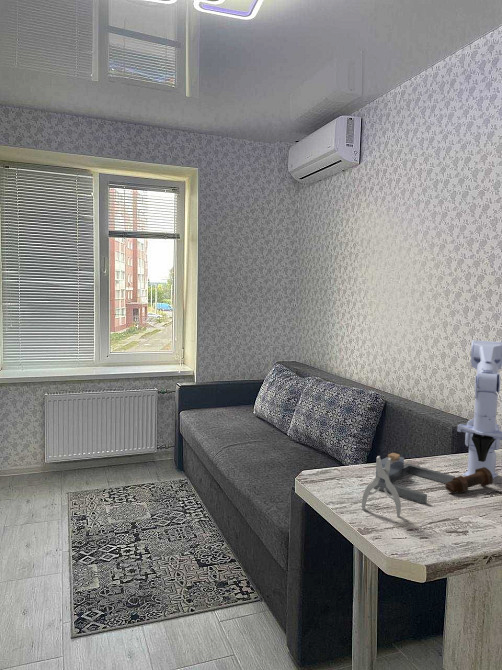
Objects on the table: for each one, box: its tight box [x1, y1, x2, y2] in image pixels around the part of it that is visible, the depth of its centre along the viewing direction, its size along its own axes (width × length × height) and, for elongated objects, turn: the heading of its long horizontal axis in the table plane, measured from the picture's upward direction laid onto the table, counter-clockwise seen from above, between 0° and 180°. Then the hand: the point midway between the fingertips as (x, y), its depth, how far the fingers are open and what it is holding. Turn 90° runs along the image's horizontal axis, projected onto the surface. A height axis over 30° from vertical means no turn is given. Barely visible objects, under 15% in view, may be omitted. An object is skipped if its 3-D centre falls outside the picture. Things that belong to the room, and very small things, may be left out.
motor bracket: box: [373, 452, 456, 505], centre depth 153 cm, size 21×18×7 cm
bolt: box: [444, 467, 494, 494], centre depth 151 cm, size 6×5×15 cm
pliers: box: [361, 455, 402, 518], centre depth 133 cm, size 10×2×15 cm, turn 64°
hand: (481, 460), depth 148 cm, fingers closed
